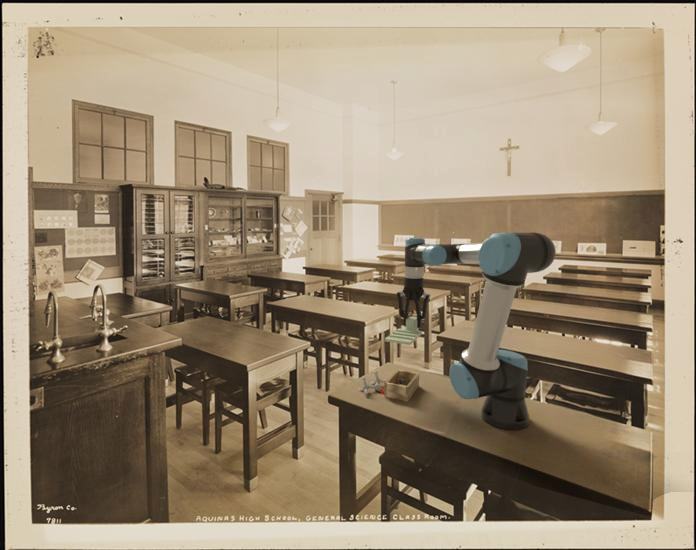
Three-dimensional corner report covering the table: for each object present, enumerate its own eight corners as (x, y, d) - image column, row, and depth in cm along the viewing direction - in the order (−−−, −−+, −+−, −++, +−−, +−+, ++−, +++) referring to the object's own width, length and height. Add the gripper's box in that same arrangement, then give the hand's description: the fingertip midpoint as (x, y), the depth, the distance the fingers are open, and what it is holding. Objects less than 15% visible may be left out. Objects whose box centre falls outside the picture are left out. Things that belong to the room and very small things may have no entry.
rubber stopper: (406, 386, 162) (406, 379, 162) (404, 388, 160) (405, 381, 159) (400, 385, 163) (401, 378, 163) (398, 387, 161) (399, 380, 160)
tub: (418, 387, 162) (419, 373, 161) (407, 403, 149) (408, 387, 148) (397, 383, 166) (397, 369, 165) (384, 398, 153) (384, 382, 152)
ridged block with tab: (425, 330, 165) (426, 318, 164) (410, 345, 145) (410, 331, 145) (403, 327, 169) (403, 315, 168) (384, 341, 149) (385, 328, 149)
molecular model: (392, 397, 162) (373, 383, 168) (399, 381, 160) (379, 368, 165) (372, 408, 151) (352, 393, 156) (379, 391, 148) (359, 376, 154)
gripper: (436, 277, 161) (434, 334, 164) (397, 274, 168) (396, 329, 171) (431, 279, 154) (429, 339, 157) (391, 276, 161) (389, 334, 164)
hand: (412, 334), depth 164 cm, fingers closed on ridged block with tab, 3 cm apart
